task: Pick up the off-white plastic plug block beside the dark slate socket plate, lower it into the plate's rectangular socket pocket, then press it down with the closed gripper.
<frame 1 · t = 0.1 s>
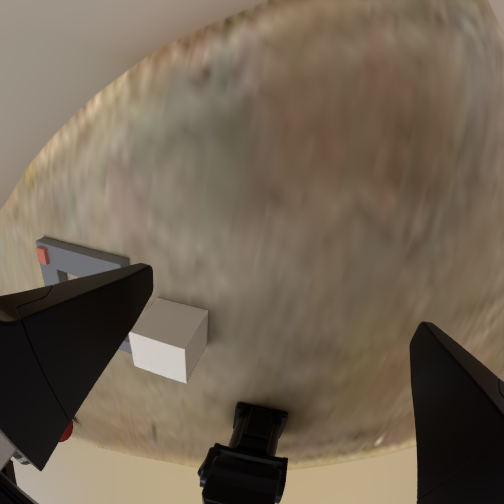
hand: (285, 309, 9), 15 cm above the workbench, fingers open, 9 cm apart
plug: (182, 321, 29), on the workbench
socket: (87, 292, 31), on the workbench
headphones: (57, 408, 52), on the workbench
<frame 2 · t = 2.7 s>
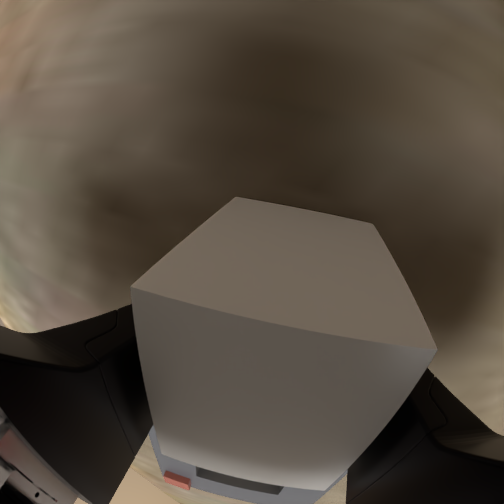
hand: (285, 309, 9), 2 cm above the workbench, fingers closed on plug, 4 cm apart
plug: (289, 285, 10), on the workbench, touching gripper
socket: (246, 453, 15), on the workbench
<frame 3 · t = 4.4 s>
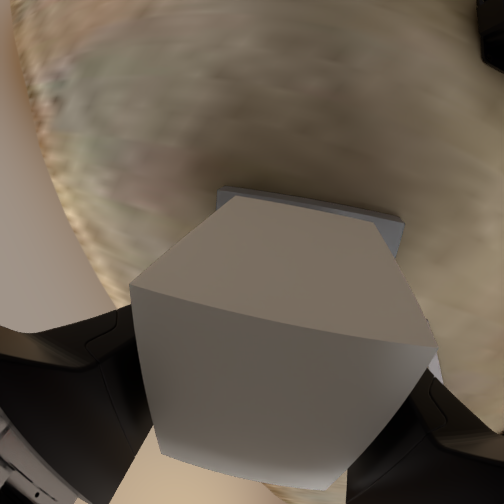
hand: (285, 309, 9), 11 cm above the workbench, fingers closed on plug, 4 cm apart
plug: (289, 284, 10), point 10 cm above the workbench, touching gripper
socket: (296, 291, 21), on the workbench
caliper: (436, 386, 23), on the workbench
when the fingers open (3 cm above the workbench, at t = 6.6 s): plug drops 2 cm, resting in socket.
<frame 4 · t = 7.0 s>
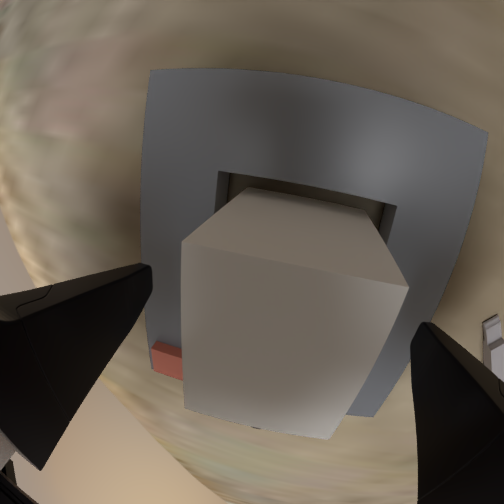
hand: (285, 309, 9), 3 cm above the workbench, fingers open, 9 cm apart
plug: (293, 263, 12), resting in socket
socket: (293, 264, 12), on the workbench
caliper: (483, 411, 14), on the workbench
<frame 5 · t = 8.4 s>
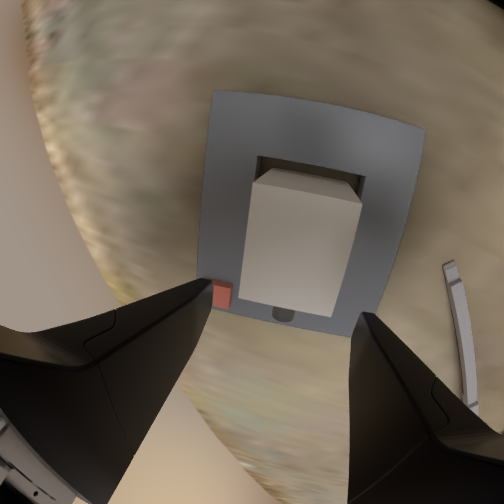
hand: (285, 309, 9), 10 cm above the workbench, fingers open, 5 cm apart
plug: (302, 217, 18), resting in socket
socket: (302, 218, 18), on the workbench
caliper: (460, 355, 20), on the workbench
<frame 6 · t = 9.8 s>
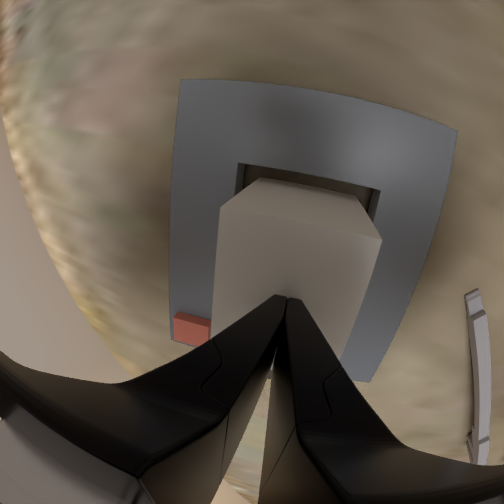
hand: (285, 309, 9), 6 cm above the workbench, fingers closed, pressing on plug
plug: (297, 240, 14), resting in socket, touching gripper
socket: (297, 241, 14), on the workbench
caliper: (473, 387, 16), on the workbench
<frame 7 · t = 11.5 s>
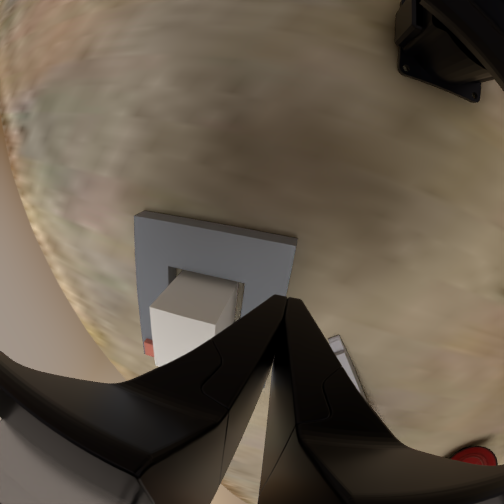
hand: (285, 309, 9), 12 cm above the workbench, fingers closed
plug: (209, 302, 24), resting in socket
socket: (209, 303, 24), on the workbench
caliper: (365, 400, 26), on the workbench
headphones: (461, 461, 28), on the workbench
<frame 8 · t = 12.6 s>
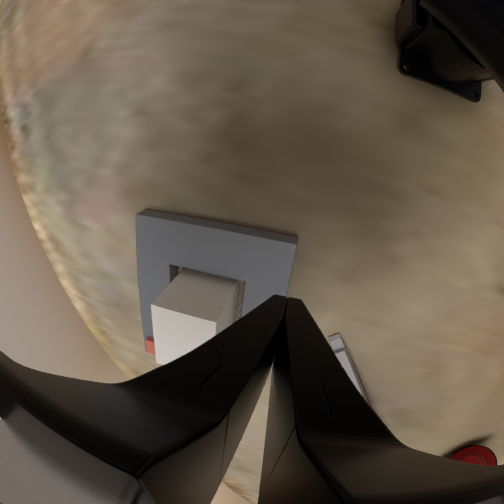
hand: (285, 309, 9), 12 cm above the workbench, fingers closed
plug: (210, 300, 24), resting in socket
socket: (210, 301, 24), on the workbench
caliper: (365, 398, 26), on the workbench
headphones: (461, 460, 29), on the workbench
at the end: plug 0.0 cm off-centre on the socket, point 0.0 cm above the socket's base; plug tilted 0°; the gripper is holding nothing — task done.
